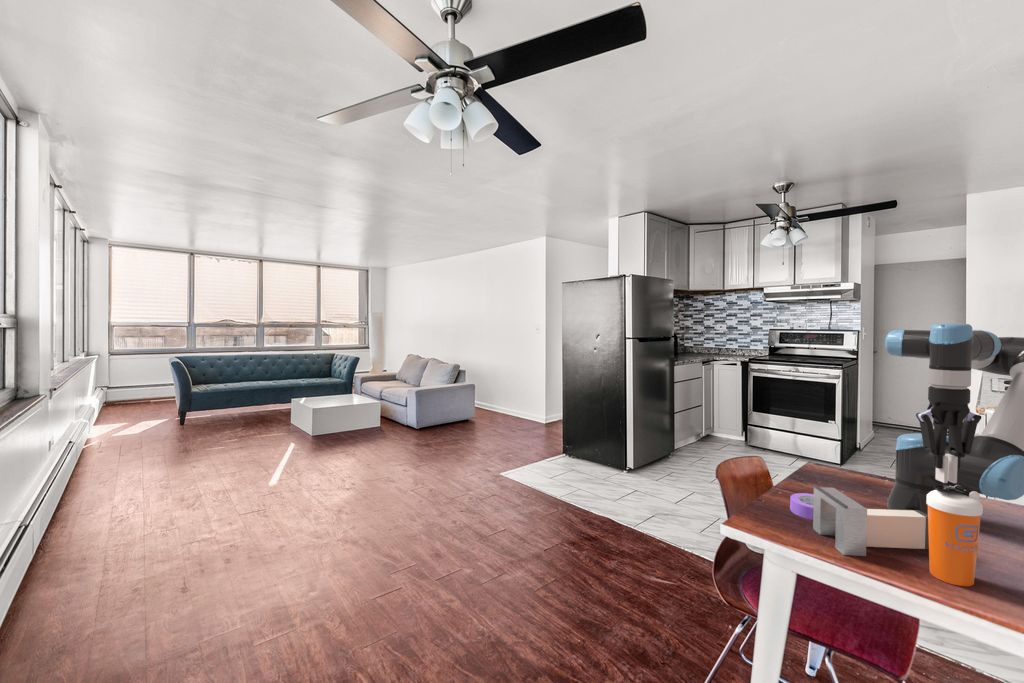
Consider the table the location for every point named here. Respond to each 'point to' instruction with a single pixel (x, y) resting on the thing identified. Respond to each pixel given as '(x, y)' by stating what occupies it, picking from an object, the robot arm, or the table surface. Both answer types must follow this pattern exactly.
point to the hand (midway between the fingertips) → (945, 481)
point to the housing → (840, 520)
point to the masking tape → (802, 505)
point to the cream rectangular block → (897, 529)
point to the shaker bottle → (953, 533)
